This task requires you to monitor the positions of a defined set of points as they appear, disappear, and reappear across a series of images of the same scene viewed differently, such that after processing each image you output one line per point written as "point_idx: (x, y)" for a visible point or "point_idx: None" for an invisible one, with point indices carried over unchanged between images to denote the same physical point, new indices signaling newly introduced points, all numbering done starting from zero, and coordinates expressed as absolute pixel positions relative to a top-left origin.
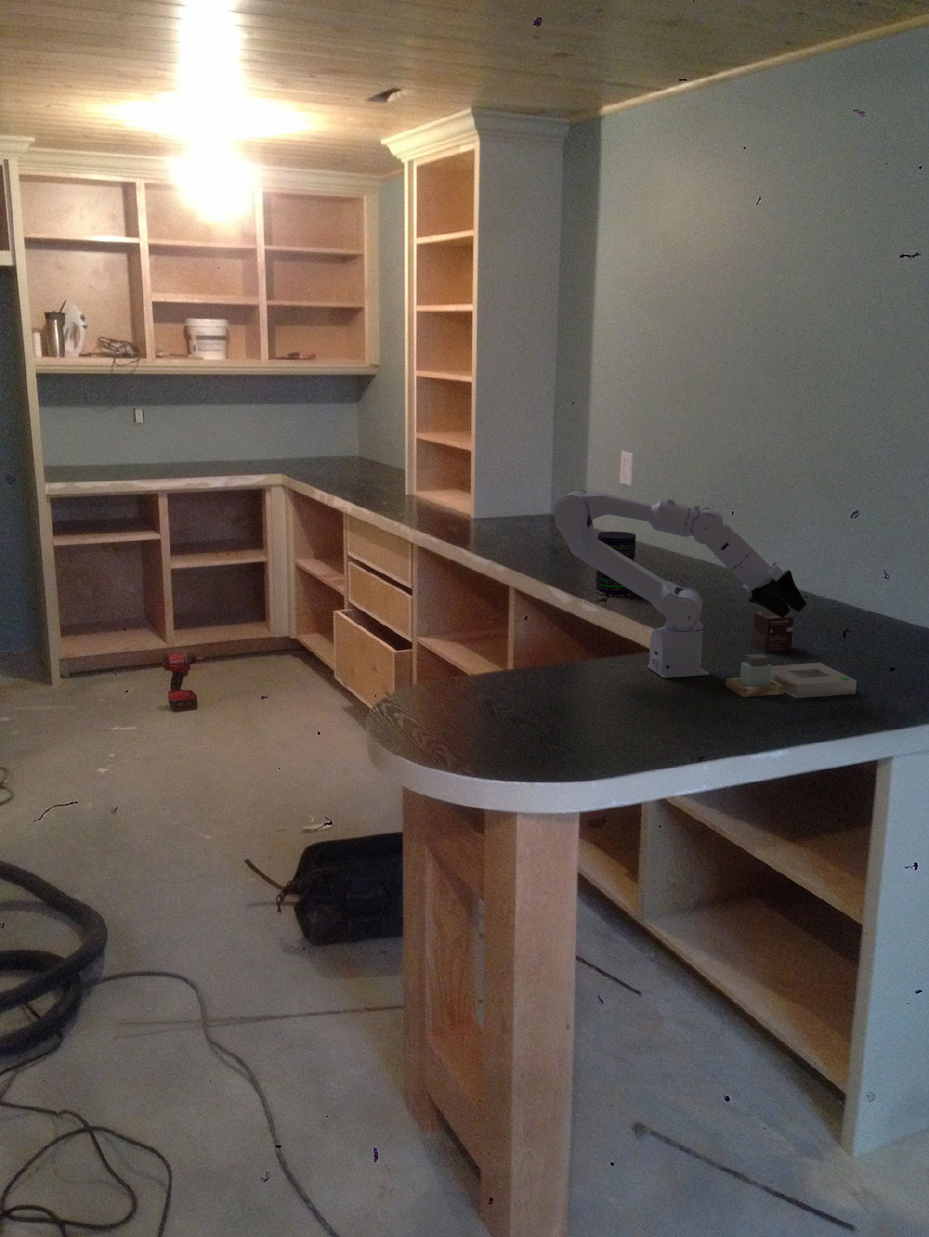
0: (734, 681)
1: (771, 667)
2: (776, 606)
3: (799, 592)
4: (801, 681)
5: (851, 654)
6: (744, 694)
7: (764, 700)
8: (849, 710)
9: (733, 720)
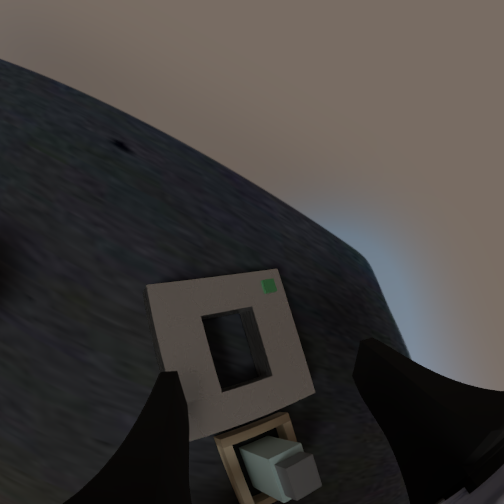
0: (267, 500)
1: (298, 442)
2: (182, 445)
3: (418, 364)
4: (295, 380)
5: (21, 161)
6: None
7: (313, 446)
8: (339, 321)
9: (382, 476)
